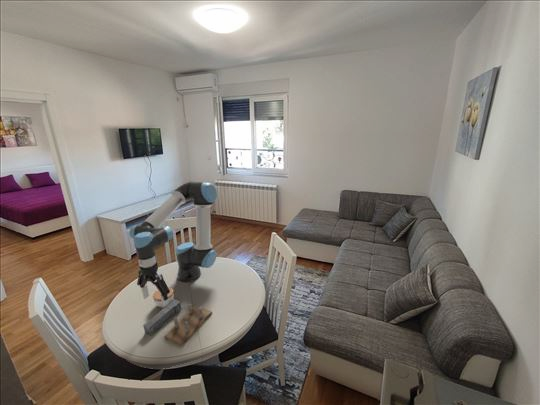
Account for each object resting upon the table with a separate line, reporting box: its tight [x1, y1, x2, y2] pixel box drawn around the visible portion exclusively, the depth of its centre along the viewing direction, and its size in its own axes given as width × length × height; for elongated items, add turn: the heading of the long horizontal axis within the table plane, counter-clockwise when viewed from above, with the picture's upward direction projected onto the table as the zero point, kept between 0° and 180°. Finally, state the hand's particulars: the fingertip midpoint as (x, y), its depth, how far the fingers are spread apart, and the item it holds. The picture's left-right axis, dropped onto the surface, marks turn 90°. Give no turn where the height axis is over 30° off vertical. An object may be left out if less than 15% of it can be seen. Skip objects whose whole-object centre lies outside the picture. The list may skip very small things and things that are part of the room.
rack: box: [164, 303, 213, 347], centre depth 122 cm, size 22×11×8 cm, turn 155°
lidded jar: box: [152, 286, 175, 309], centre depth 137 cm, size 11×11×9 cm
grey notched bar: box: [142, 298, 182, 337], centre depth 126 cm, size 20×5×5 cm, turn 155°
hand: (155, 301), depth 121 cm, fingers open, 13 cm apart
